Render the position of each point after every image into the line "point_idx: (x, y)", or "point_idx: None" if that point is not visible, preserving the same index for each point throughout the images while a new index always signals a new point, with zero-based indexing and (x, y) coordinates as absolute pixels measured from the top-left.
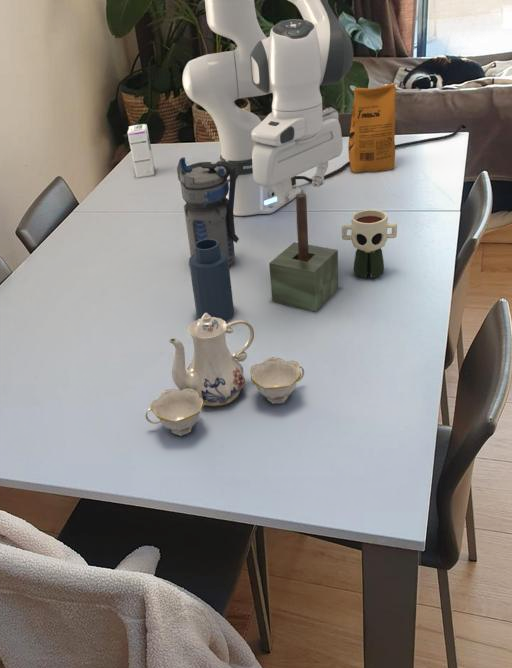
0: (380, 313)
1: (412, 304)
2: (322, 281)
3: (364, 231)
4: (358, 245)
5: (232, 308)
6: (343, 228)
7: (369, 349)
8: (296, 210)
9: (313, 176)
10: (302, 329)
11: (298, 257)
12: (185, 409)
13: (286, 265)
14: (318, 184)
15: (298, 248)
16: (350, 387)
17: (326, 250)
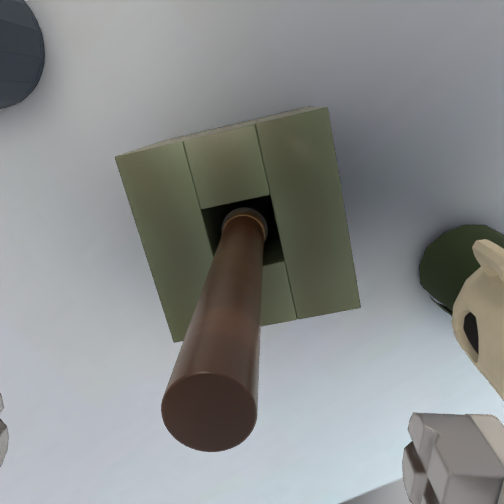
0: (291, 400)
1: (367, 431)
2: None
3: (486, 373)
4: (455, 317)
5: (7, 101)
6: (496, 266)
7: (158, 456)
8: (191, 322)
9: (473, 478)
10: (116, 305)
11: (227, 222)
12: None
13: (145, 230)
14: (408, 496)
15: (220, 239)
16: (40, 493)
17: (333, 276)
